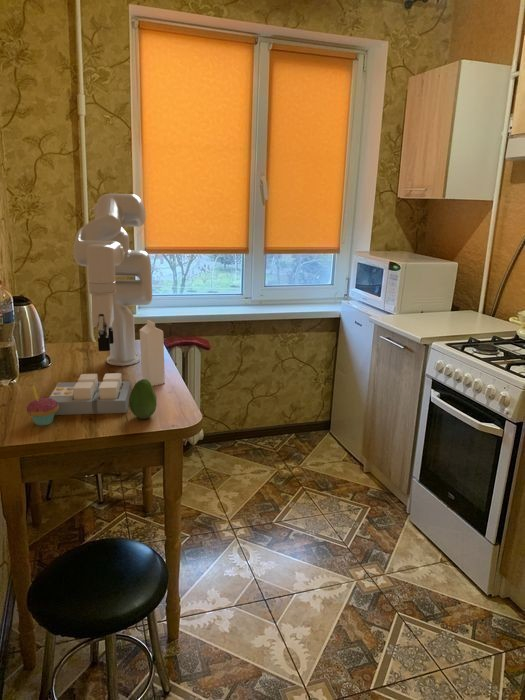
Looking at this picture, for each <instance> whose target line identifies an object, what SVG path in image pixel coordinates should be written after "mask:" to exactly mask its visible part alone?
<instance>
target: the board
mask: <svg viewBox="0 0 525 700" xmlns="http://www.w3.org/2000/svg"><path fill="white" fill-rule="evenodd" d="M101 382H102V381H98V389H97V390H94V398H93V399H92V400H74V393H73V388H74V386H75V384H76V381H71V382H67V381H65V382H63V381H62V382H60V381H59V382H58V383H57V384H56V386H55V387H54V389H53V390H52V392H51V393H50V395H49V396H48V398H51V399H54V400H55V401H56V402H58V405H59V410H58V411H57V412H56V413H55V414H54V416H60V415H61V416H63V415H65V416H66V415H90V414H91V415H92V414H93V415H95V414H97V415H98V414H125V413H127V410H128V407H129V398H130V395H131V392H132V389H133V387H132V380H123V381H122V389H121V390H119V398H118V399H100V394H99V387H100V385H101Z"/></svg>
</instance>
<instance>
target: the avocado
mask: <svg viewBox="0 0 525 700" xmlns="http://www.w3.org/2000/svg"><path fill="white" fill-rule="evenodd" d="M157 405H158V404H157V395H156V393H155V390H154V388H153V386H152V385H151V383H150V382H149V381H148V380H147V379H142V378H141V379H140V380H138V381H136V383H135V384H134V385H133V387H132V392H131V395H130V398H129V404H128V407H129V409H130V411H131V413H132V414H133V415H134V416H135V417H136V418H137V419H140V420H146V419H147V420H148V419H149V418H150V417H152V415H153V414H154V413H155V411H156V410H157V409H156V408H157Z"/></svg>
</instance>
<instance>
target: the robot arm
mask: <svg viewBox="0 0 525 700" xmlns="http://www.w3.org/2000/svg"><path fill="white" fill-rule="evenodd" d="M93 214H94V219H92V220H91V221H89V222H87V223H86V224H85V225H83V226H81V228H79V229H78V231H77V232H76V234H75V238H74V242H73V251H72V254H73V260H74V261H75V263H76V264H77V265H78V266H82V267H87V269H86V270H87V281H88V293H89V294H90V295H92V296H91V314H92V315H91V317H92V318H91V319H92V322H91V323H92V328H93V329H96V328H97V345H98V348H97V349H98V351H99V352H110V353H109V355H108V357H106V363H107V364H109V365H112V366H118V367H120V366H121V367H124V366H132V365H135V364H138V363H139V362H141V356H139V355H138V354H136V335H135V334H136V333H135V332H136V331H135V317H134V313H132V311H131V310H130V309H129V306H148V305H150V304H151V303H152V300H153V281H152V280H153V278H152V262H151V258H150V254H149V253H148V252H147V251H145V250H140V249H139V250H137V249H136V250H133V249H131V248H130V236H129V234H128V232H127V231H126V230H125V229H124V228H123V227H134V228H135V227H142V226H143V225H144V224H145V221H146V210H145V206H144V203H143V201H142V199H141V198H140V197H139V196H138V195H137V194H134V193H106V194H102V195H101V196H99V198H98V200H97V203H96V204H94V206H93ZM116 277H137V278H138V279H116Z"/></svg>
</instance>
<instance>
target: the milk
mask: <svg viewBox="0 0 525 700" xmlns="http://www.w3.org/2000/svg"><path fill="white" fill-rule="evenodd" d="M146 322H147V323H146V324H145V325H143V326H142V328H140V329H139V342H140V343H139V346H140V347H139V348H140V366H141V367H140V370H141V380H142V379H147V380H148V381H149V382H150V383H151V385H152V387H153V386H154V385H155V386H159V385H164V384H166V381H165V380H166V377H165V376H166V375H165V346H164V344H165V343H164V342H165V341H164V331H163V330H162V329H160V328H157V327H156V323H155V322H153V321H151V320H149V319H147V320H146ZM163 383H164V384H163ZM158 384H159V385H158ZM155 386H154V387H155Z"/></svg>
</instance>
